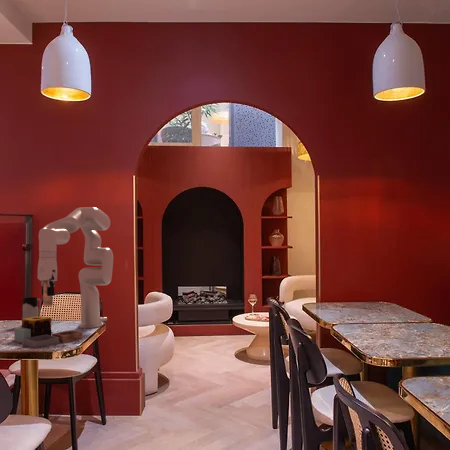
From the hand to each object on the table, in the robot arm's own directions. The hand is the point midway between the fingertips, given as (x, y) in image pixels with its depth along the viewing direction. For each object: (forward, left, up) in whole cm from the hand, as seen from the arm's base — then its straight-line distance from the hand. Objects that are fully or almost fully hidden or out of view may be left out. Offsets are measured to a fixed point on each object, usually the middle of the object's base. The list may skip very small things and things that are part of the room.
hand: (48, 294), depth 226 cm
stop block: (+6, -13, -22) cm, 26 cm away
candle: (-1, -14, -22) cm, 26 cm away
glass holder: (-19, -51, -22) cm, 59 cm away
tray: (+3, 0, -22) cm, 22 cm away
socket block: (-9, 0, -22) cm, 24 cm away
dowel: (0, 0, -5) cm, 5 cm away
